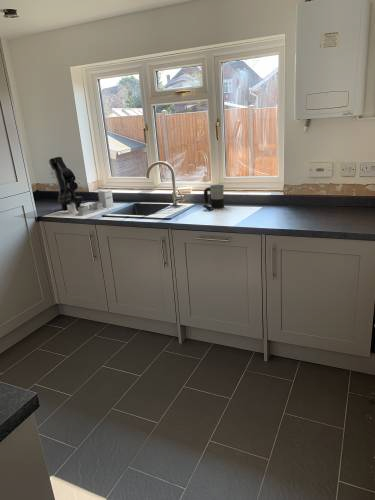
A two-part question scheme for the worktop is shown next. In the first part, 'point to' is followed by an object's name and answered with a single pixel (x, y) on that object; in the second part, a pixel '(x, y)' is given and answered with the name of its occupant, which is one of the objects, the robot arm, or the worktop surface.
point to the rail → (84, 209)
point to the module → (71, 208)
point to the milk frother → (214, 197)
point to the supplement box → (106, 198)
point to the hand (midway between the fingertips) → (72, 210)
